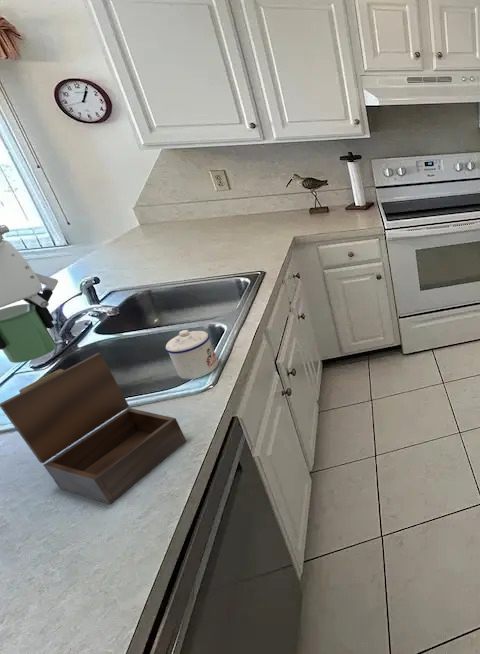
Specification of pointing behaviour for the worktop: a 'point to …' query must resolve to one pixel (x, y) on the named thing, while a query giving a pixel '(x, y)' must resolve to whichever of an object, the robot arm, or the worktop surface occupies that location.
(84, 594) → the worktop surface
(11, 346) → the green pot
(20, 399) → the lid
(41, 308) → the robot arm
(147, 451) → the chest
